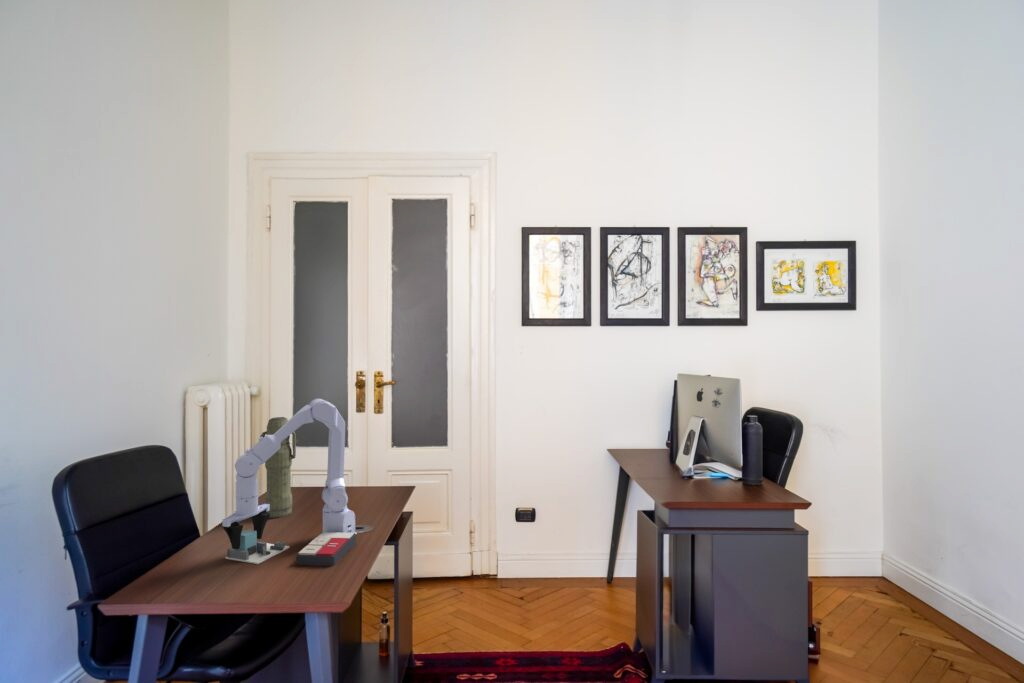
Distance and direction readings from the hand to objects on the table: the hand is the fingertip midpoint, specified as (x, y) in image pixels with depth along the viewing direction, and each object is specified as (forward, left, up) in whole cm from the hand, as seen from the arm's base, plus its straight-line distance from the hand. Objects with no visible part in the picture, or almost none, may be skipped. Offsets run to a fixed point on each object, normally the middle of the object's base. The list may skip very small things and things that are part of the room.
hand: (247, 543), depth 141 cm
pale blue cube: (+1, 0, -3) cm, 3 cm away
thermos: (+20, -31, -4) cm, 37 cm away
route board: (-2, -2, -3) cm, 4 cm away
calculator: (-22, -8, -4) cm, 24 cm away
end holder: (0, 0, -3) cm, 3 cm away
